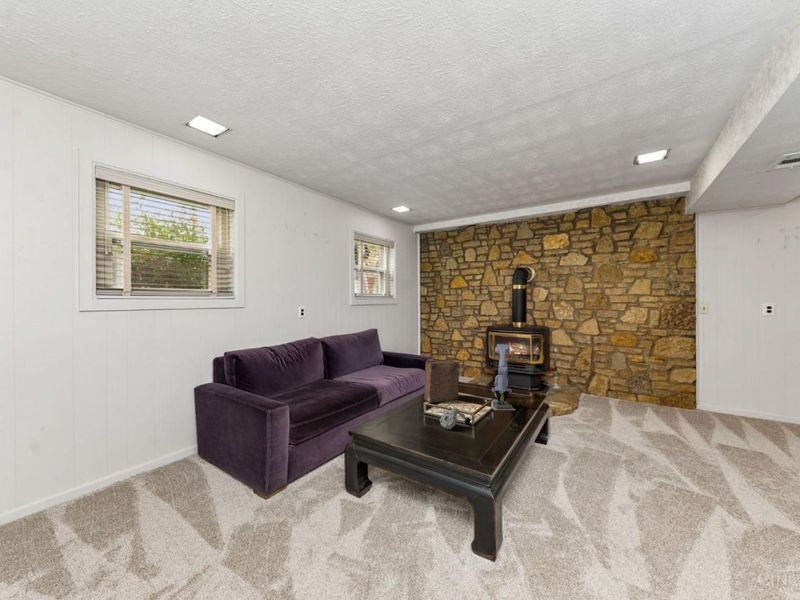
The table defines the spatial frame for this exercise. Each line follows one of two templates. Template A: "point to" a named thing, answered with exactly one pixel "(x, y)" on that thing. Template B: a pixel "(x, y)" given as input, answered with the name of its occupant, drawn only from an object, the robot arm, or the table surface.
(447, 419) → the mechanical valve
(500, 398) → the brass rounded knob
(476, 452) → the table surface
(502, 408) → the socket plate
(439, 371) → the book
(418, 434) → the table surface
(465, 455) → the table surface
